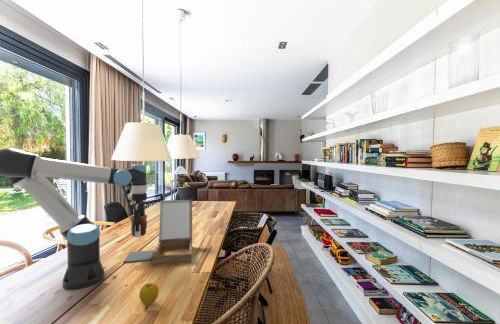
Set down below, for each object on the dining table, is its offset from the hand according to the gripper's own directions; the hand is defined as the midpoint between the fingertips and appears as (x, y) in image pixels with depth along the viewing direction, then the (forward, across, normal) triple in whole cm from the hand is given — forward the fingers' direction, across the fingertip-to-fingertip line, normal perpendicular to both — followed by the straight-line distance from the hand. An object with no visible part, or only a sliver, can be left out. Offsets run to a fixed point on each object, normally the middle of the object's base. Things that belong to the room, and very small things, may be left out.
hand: (139, 234), depth 132 cm
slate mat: (+12, 0, 0) cm, 12 cm away
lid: (-4, +13, -18) cm, 23 cm away
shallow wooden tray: (+12, -2, -18) cm, 22 cm away
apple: (+13, -47, -13) cm, 50 cm away
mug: (+1, -1, 0) cm, 1 cm away
